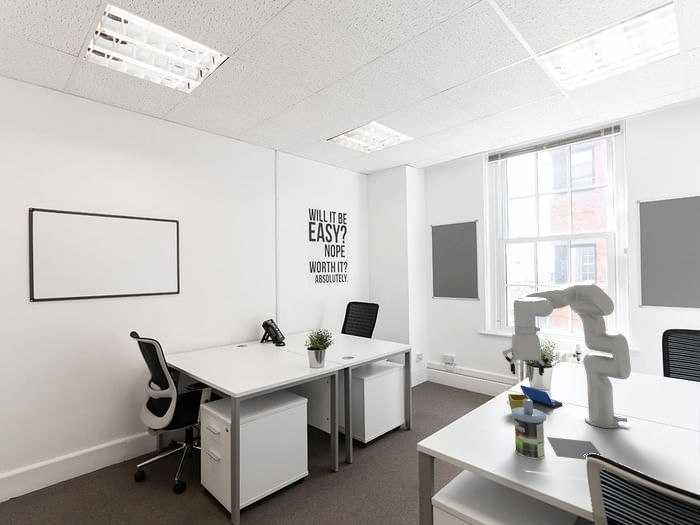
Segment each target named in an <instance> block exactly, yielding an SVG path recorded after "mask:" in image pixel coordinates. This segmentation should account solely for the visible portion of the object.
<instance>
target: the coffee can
mask: <svg viewBox="0 0 700 525" xmlns="http://www.w3.org/2000/svg"><path fill="white" fill-rule="evenodd" d="M544 430H545V429H544V422H541V423H530V422H524V421H521V420H518V419H516V418H514V435H515V436H514V438H515V440H514V441H515V442H514V443H515V453H517V455H519V456H523V457H524V458H529V459H535V460H536V459H543V458H544V457H545V455H546V453H545V437H544V436H545V435H544V434H545V433H544V432H545V431H544Z"/></svg>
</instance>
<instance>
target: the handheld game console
mask: <svg viewBox="0 0 700 525" xmlns="http://www.w3.org/2000/svg"><path fill="white" fill-rule="evenodd" d="M519 387H520V390H521V391H522V393H523V395H527V396H528V397H529V399H530V400H532V403H534V404H538V405H540V406H544V407H545V408H546V407H547V408H549V409H552V410H553V409H556V408H558V407H562V406H563V403H562V402H560V401H557V400H554V399H551V398H550V396H549V394H548V393H547V392H546V391H544V390H540V389H537V388H533V387H530V386H526V385H522V384H521V385H520V386H519Z"/></svg>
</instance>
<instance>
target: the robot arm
mask: <svg viewBox="0 0 700 525" xmlns="http://www.w3.org/2000/svg"><path fill="white" fill-rule="evenodd" d="M567 306H569V308H570V309H571V310H572V311H573V312H574V313H576V314H577V315H578V316H579V318H580V319H581V322H582V327H583V333H584V334H583V335H584V343H585V347H586V348H587V349H588V350H590V351H594V352H588V353H586V354H585V355H584V357H583V359H582V361H583V368H584V371H585V376H586V383H587V384H586V385H587V386H586V389H587V407H588V408H587V409H588V414H587V415H586V416H585V417H584V421H585V422H586V423H588V424H589V425H592V426H593V427H598V428H602V429H617V428H619V426H620V424H619V422H623V423H627V422H628V418H627V417H626V416H622V415H620V414H619V415H616V414H615V411H614V392H613V384H612V382H611V380H610V378H613V379H617V380H627V379H628V378H630V376H631V370H632V369H631V368H632V367H631V358H630V347H629V342H628V340H627V338H626V336H625V335H624V334H622V333H620V332H615V331H614V332H613V331H608V330H607V326H606V320H605V318H604V317H606V316H607V317H608V316H610V315H612V314H613V312H614V310H615V304H614V301H613V300H612V298H611V297H610V296H609V294H607V293H606V292H605V291H604V290H603V289H602V288H600V287H599V286H598V285H596V284H595V283H592V282H570V283H566V284H563V285H561V286H560V285H559V286H558V287H555V288H552V289H547V290H543V291H536V292H531V293H527V294H524V295H522V296H519V297H518V298H517V299H515V300H514V301H513V320H514V321H513V322H514V332H513V333H512V335H511V347H510V348H508V349H505V350H504V351H502V355H503V357H504V358H505V360H506V361H507V362H508V363H509V366H510V372H511V373H512V374H513V375H516V365H515V362H516V361H517V360H518V361H538V374H539V375H540V377H543V374H545V367H544V366H545V365H546V363H548V362H549V360H550V359H551V357H552V354H551V353H550V352H548V351H546V350H544V349H542V348H541V343H540V337H539V334H538V333H537V332H540V331H541V328H540V327H538V326H537V327H536V325H537V324H536V317H539V318H546V317H549V316H550V315H551V314H552V313H553V311H554V310H556V309H562V308H563V309H564V308H565V307H567ZM604 353H605V354H604ZM508 354H511V356H512V357H510V356H508ZM542 355H545V357H544V358H543V359H542Z"/></svg>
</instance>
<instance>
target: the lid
mask: <svg viewBox="0 0 700 525" xmlns="http://www.w3.org/2000/svg"><path fill="white" fill-rule="evenodd" d="M533 403H534V402H532V400H530V399H523V406H524V407H519V408H514V409H512V410H511V416H512V417H513V418H514V419H515V418H516V419H518V420H521V421H524V422H530V423H541V422H543V423H544V422H546V421H547V415H546V413H545V412H543V411H542V410H539V409H536V408H534V406H533Z"/></svg>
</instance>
